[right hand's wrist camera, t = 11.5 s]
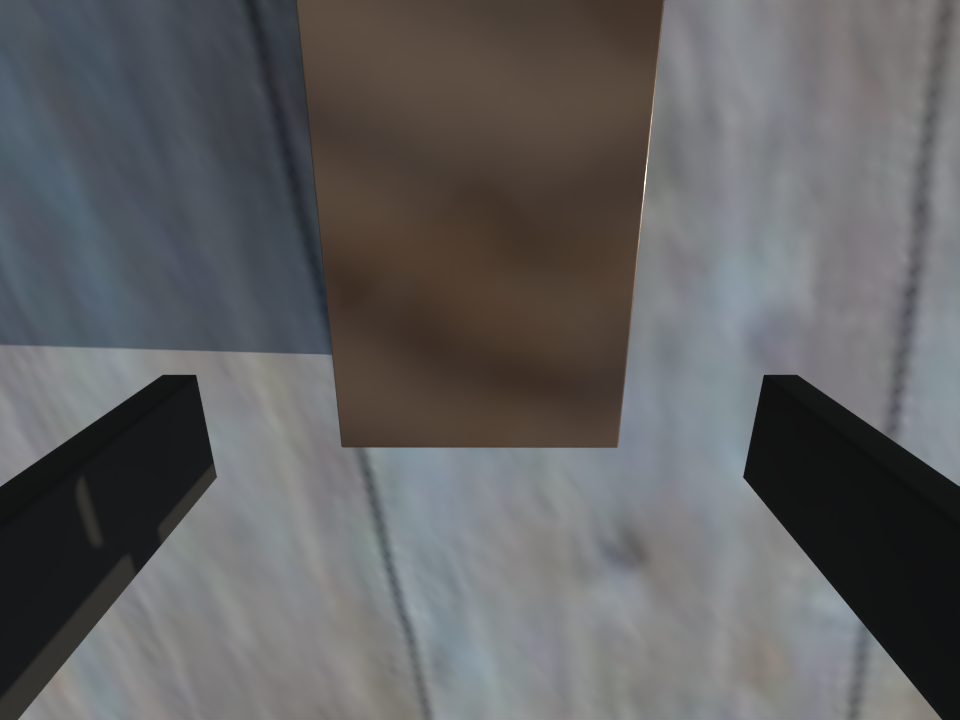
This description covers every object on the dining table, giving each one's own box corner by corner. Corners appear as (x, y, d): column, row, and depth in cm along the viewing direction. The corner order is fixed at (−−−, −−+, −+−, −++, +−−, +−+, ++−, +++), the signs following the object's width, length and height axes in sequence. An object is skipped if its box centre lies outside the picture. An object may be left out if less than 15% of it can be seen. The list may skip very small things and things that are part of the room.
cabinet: (354, -107, 24) (264, -294, 14) (606, -106, 24) (696, -294, 14) (384, 356, 31) (341, 448, 22) (574, 357, 31) (618, 448, 22)
